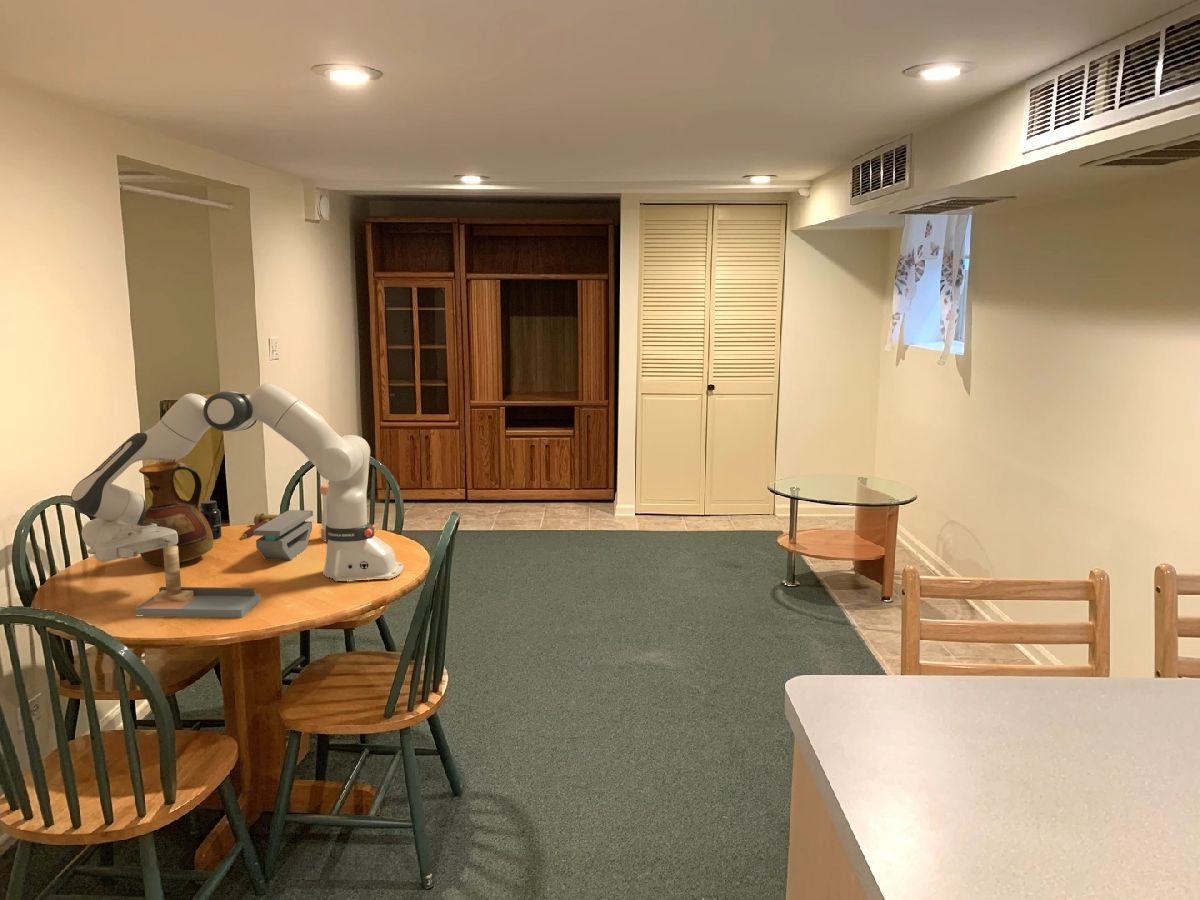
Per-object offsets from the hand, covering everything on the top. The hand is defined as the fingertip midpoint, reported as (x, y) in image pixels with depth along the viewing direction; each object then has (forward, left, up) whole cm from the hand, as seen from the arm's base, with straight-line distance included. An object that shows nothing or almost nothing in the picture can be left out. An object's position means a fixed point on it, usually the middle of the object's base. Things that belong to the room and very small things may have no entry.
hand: (152, 549), depth 226 cm
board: (-14, +7, -13) cm, 21 cm away
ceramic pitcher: (+11, -34, -14) cm, 39 cm away
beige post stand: (-7, +5, -11) cm, 14 cm away
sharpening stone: (-19, -41, -14) cm, 48 cm away
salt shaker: (-28, -59, -14) cm, 67 cm away
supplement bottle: (+12, -59, -14) cm, 62 cm away
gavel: (-1, -68, -14) cm, 69 cm away
